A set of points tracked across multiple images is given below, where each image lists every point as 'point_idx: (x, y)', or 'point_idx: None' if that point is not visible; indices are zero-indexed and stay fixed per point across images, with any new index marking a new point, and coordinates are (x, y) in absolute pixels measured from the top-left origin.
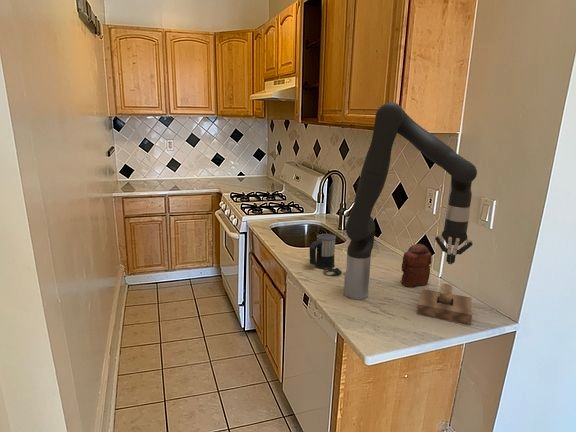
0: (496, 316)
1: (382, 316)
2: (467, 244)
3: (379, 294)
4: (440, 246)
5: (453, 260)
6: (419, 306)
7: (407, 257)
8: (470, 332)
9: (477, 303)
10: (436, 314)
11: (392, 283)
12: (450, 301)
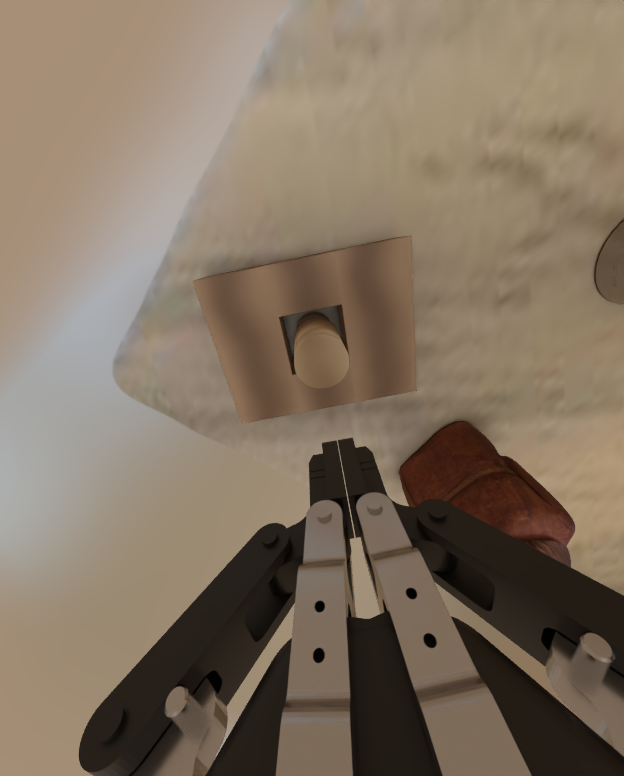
0: (162, 392)
1: (527, 115)
2: (163, 703)
3: (548, 312)
4: (509, 544)
5: (319, 468)
6: (400, 237)
7: (548, 505)
8: (187, 217)
9: (236, 440)
10: (326, 252)
11: (506, 419)
12: (294, 338)
